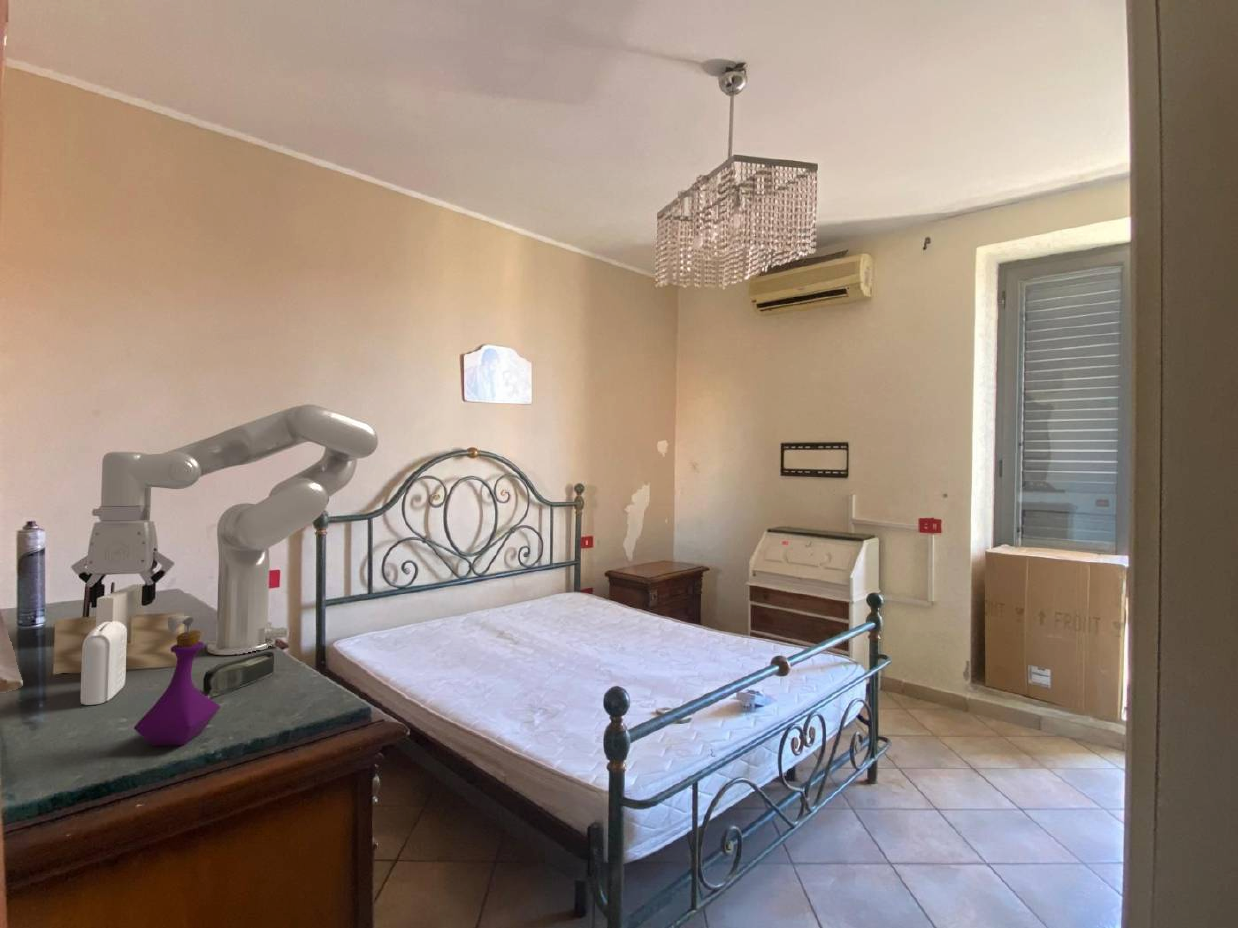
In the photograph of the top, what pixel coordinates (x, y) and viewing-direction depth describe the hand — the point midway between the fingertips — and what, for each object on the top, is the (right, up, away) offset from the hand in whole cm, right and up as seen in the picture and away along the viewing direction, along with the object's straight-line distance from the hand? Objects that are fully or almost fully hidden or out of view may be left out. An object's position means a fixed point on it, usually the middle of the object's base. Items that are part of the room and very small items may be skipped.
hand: (122, 604), depth 116 cm
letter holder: (-24, -13, +26) cm, 38 cm away
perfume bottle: (+33, -13, -30) cm, 46 cm away
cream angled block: (0, -12, 0) cm, 12 cm away
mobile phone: (+28, -13, -9) cm, 32 cm away
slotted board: (0, -12, 0) cm, 12 cm away
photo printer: (+8, -13, -14) cm, 20 cm away
